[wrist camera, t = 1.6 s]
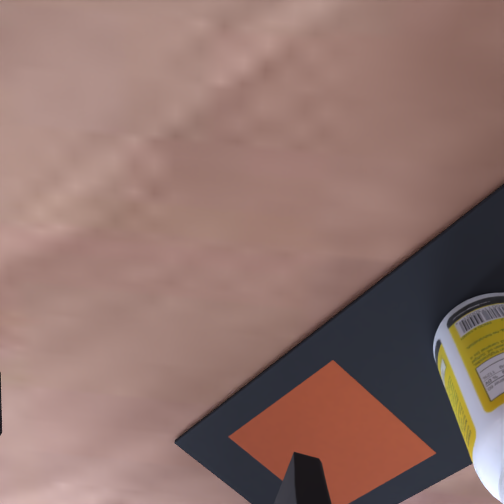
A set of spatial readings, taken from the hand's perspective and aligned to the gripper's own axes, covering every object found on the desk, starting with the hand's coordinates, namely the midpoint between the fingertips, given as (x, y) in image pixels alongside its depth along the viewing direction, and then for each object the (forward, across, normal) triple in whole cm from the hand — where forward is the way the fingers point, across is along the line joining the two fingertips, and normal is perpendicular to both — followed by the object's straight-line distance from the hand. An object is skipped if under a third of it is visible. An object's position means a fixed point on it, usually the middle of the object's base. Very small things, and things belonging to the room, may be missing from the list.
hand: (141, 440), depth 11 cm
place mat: (+9, -10, +4) cm, 14 cm away
